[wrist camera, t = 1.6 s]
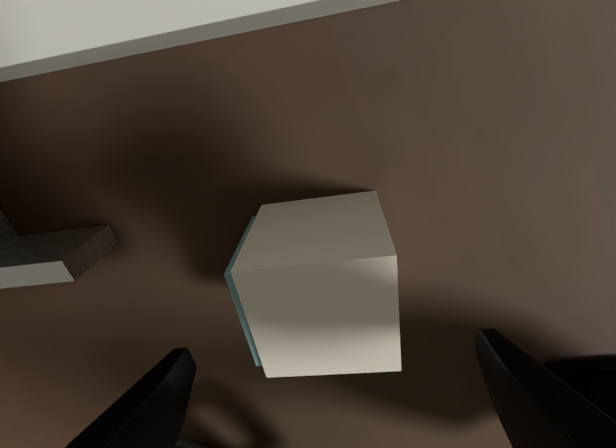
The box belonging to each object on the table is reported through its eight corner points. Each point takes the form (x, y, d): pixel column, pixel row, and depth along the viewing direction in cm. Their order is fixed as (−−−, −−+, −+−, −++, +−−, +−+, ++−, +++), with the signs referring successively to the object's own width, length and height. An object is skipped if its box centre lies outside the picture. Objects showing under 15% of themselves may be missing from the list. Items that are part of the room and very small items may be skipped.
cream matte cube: (375, 189, 13) (396, 255, 9) (381, 282, 16) (401, 371, 11) (253, 205, 14) (218, 272, 10) (276, 291, 16) (256, 378, 12)
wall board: (444, -92, 9) (501, -167, 6) (441, -9, 10) (490, -37, 7) (-157, 50, 12) (-324, 49, 9) (-116, 105, 13) (-255, 121, 10)
